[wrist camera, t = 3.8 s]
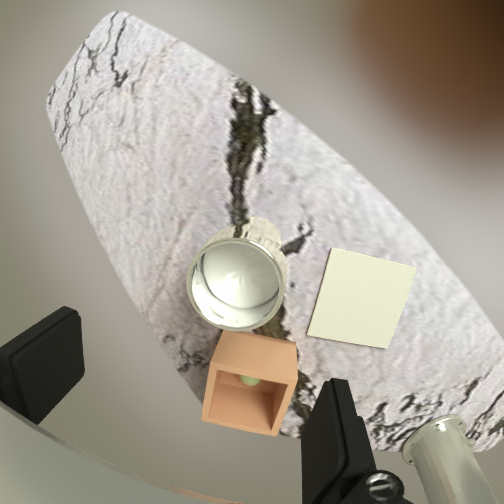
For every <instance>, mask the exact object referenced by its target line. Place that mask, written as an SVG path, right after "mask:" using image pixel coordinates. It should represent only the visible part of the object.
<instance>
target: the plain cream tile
mask: <svg viewBox="0 0 504 504" xmlns="http://www.w3.org/2000/svg"><path fill="white" fill-rule="evenodd" d="M416 269H417V268H416V267H412V266H408V265H404V264H400V263H396V262H392V261H388V260H384V259H379V258H375V257H371V256H367V255H363V254H359V253H354V252H350V251H346V250H342V249H337V248H333V247H331V251H330V255H329V259H328V263H327V266H326V270H325V274H324V277H323V281H322V284H321V288H320V291H319V295H318V298H317V302H316V305H315V309H314V312H313V315H312V319H311V322H310V325H309V328H308V332H307V335H309V336H315V337H320V338H325V339H331V340H336V341H342V342H348V343H354V344H360V345H367V346H373V347H380V348H386V349H387V348H388V346H389V344H390V341H391V339H392V336H393V334H394V331H395V329H396V326H397V324H398V321H399V318H400V316H401V313H402V310H403V308H404V305H405V302H406V299H407V296H408V293H409V290H410V287H411V284H412V281H413V278H414V275H415V272H416Z"/></svg>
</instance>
